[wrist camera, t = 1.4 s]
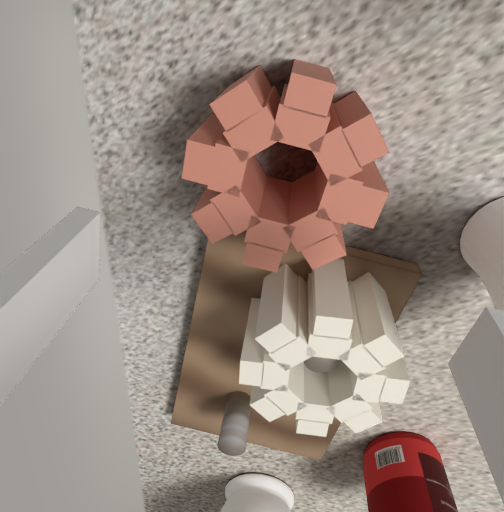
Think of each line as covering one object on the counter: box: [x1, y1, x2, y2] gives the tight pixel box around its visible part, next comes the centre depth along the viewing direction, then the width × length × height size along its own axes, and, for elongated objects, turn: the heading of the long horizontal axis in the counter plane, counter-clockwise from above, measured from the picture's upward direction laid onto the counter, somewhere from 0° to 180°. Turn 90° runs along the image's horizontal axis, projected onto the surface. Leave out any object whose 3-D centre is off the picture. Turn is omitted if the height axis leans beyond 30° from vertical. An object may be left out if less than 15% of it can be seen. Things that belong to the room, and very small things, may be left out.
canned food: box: [363, 432, 458, 512], centre depth 38 cm, size 8×8×11 cm
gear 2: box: [239, 259, 410, 437], centre depth 30 cm, size 11×11×7 cm
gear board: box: [171, 230, 422, 460], centre depth 35 cm, size 24×16×6 cm, turn 167°
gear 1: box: [181, 59, 389, 273], centre depth 25 cm, size 11×11×7 cm
